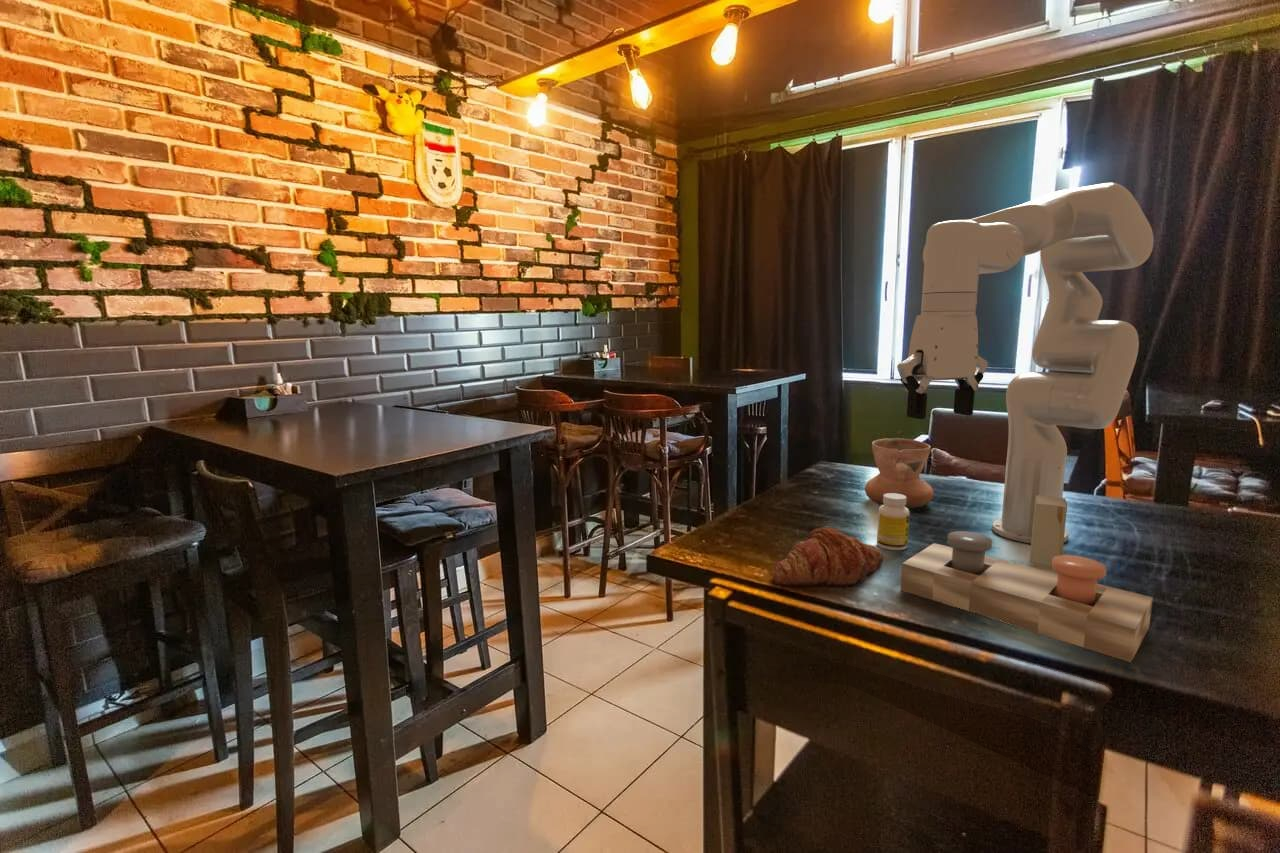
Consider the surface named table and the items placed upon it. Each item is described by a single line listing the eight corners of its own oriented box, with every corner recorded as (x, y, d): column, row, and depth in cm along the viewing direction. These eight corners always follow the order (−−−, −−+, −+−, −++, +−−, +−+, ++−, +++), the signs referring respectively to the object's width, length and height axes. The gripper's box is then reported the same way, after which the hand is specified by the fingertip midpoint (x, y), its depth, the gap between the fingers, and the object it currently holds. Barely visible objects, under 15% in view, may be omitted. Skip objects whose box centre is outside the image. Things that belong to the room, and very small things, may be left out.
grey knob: (954, 560, 99) (956, 528, 98) (995, 571, 95) (997, 537, 94) (939, 571, 95) (941, 538, 94) (980, 583, 91) (983, 548, 90)
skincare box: (1060, 579, 99) (1068, 507, 97) (1029, 574, 101) (1035, 503, 99) (1058, 565, 104) (1066, 497, 102) (1029, 560, 107) (1035, 493, 105)
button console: (932, 567, 105) (934, 543, 104) (1148, 628, 84) (1152, 597, 83) (900, 589, 97) (902, 563, 96) (1130, 662, 76) (1135, 629, 75)
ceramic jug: (936, 518, 129) (940, 453, 127) (863, 512, 135) (866, 449, 132) (929, 494, 146) (933, 436, 143) (865, 490, 151) (867, 433, 149)
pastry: (867, 605, 93) (869, 555, 91) (769, 585, 100) (770, 539, 99) (884, 564, 107) (886, 521, 106) (797, 550, 115) (797, 509, 113)
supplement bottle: (910, 552, 112) (913, 500, 110) (879, 550, 113) (881, 499, 111) (904, 541, 117) (906, 492, 115) (874, 540, 118) (876, 491, 116)
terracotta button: (1055, 587, 89) (1059, 551, 88) (1106, 600, 84) (1110, 563, 83) (1043, 601, 85) (1046, 563, 84) (1095, 615, 80) (1100, 576, 79)
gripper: (969, 306, 100) (960, 410, 103) (885, 306, 94) (879, 416, 97) (1011, 305, 93) (1000, 416, 96) (923, 304, 87) (915, 423, 90)
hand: (939, 416), depth 96 cm, fingers open, 9 cm apart
